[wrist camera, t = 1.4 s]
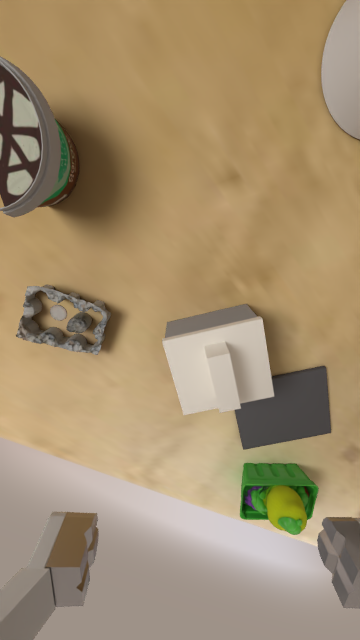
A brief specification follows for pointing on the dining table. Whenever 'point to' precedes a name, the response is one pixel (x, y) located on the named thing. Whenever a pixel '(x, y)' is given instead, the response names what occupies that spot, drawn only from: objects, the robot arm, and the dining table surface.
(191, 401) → the lid
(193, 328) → the crate
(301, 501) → the fruit basket
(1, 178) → the food container
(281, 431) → the mat
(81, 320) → the egg carton
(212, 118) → the dining table surface
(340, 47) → the robot arm
